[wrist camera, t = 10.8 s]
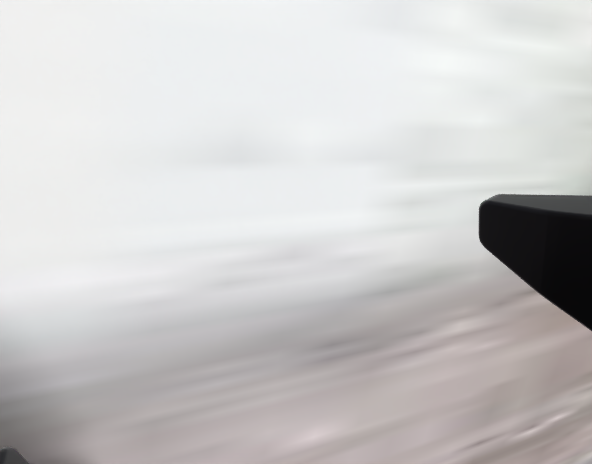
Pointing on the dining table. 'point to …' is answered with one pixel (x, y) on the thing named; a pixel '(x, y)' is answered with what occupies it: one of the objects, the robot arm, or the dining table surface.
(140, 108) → the dining table surface
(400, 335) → the dining table surface
